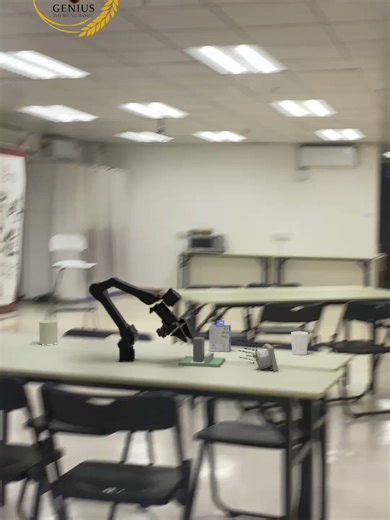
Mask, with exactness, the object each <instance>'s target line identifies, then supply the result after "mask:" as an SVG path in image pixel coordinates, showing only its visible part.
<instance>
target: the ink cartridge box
mask: <svg viewBox="0 0 390 520" xmlns="http://www.w3.org/2000/svg"><path fill="white" fill-rule="evenodd" d="M231 326H232V325H231V324H225V320H222V319H219V320H216V324H211V325H210V326H209V330H208V331H209V337H208V338H209V341H208V342H209V344H208V345H209V346H208V347H209V350H208V351H209V352H230V351H231V350H232V345H231V344H232V343H231V342H232V328H231Z"/></svg>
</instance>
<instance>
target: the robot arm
mask: <svg viewBox="0 0 390 520" xmlns="http://www.w3.org/2000/svg"><path fill="white" fill-rule="evenodd" d="M111 288H115V289H118V290H120V291H122V292H125V293H126V294H129V295H130V296H133V297H135V298H137V299H138V300H139V301H140V302H142V303H143V305H144V304H145V305H146V306H150V307H149V308H148V309H149V314H153V313H155V314H156V316H158V318H160V320H161V321H160V323H161V324H162V325H161V326H160V327H159V328H157V329H156V331H155V333H156V335H157V336H158V337H159V338H162V339H165V338H166V337H167V336H168V337H175V338H177V339H179V340H180V341H182V342H183V343H185V344H186V343H188V339H189V340H193V336H192V333H191V329H190V326H189V322H188V319H187V318H186V317H183V316H182V317H177V315H176V314H175V312H174V310H171V309H170V308H173V307H174V306H176V304H178V303H179V302H180V301H181V300H182V296H181V294H180V293H179V292H178V291H176V290H175V289H174V288H172V287H170V288H169V289H167V291H166V292H165V293H164V294H161V293H157V292H156V291H154V290H150V289H144V288H141V287H138V286H136V285H134V284H131V283H129V282H127V281H124V280H122V279H120V278H118V277H117V276H114V277H113V276H112V277H110V278H109V279H107V280H103V281H98V282H93V283H91V284H90V285H89V286H88V292H89V294H90V295H91V297H93V298H94V300H96V301H97V302H99V303H101V305H102V307H103V308H104V309H105V311H106V313H107V314H108V315H109V317H110V319H111V320H112V322H113V323H114V324H115V326H116V327H117V329H118V332H119V336H120V339H119V341H118V342H117V343H116V346H117V347H118V353H119V354H118V355H119V358H118V362H121V363H122V362H134V360H135V359H136V349H135V348H134V345H135V344H136V342H137V341H138V340H139V337H140V335H139V330H138V329H137V328H136V326H135V324H134V323H132V324H130V323H128V322H127V321H126V319H125V317H123V315H122V313H121V312H120V311H119V309H118V308H117V307H116V305H115V304H114V302H113V301H112V299H111V298H110V295H109V291H108V290H109V289H111ZM152 305H153V306H152ZM187 338H188V339H187Z"/></svg>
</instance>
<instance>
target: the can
mask: <svg viewBox="0 0 390 520" xmlns="http://www.w3.org/2000/svg"><path fill="white" fill-rule="evenodd" d="M38 325H39V345H40V344H44V345H43V346H48V345H47V344H55V343H57V342H58V320H55V319H54V320H53V319H48V320H47V319H45V320H39V321H38Z"/></svg>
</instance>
